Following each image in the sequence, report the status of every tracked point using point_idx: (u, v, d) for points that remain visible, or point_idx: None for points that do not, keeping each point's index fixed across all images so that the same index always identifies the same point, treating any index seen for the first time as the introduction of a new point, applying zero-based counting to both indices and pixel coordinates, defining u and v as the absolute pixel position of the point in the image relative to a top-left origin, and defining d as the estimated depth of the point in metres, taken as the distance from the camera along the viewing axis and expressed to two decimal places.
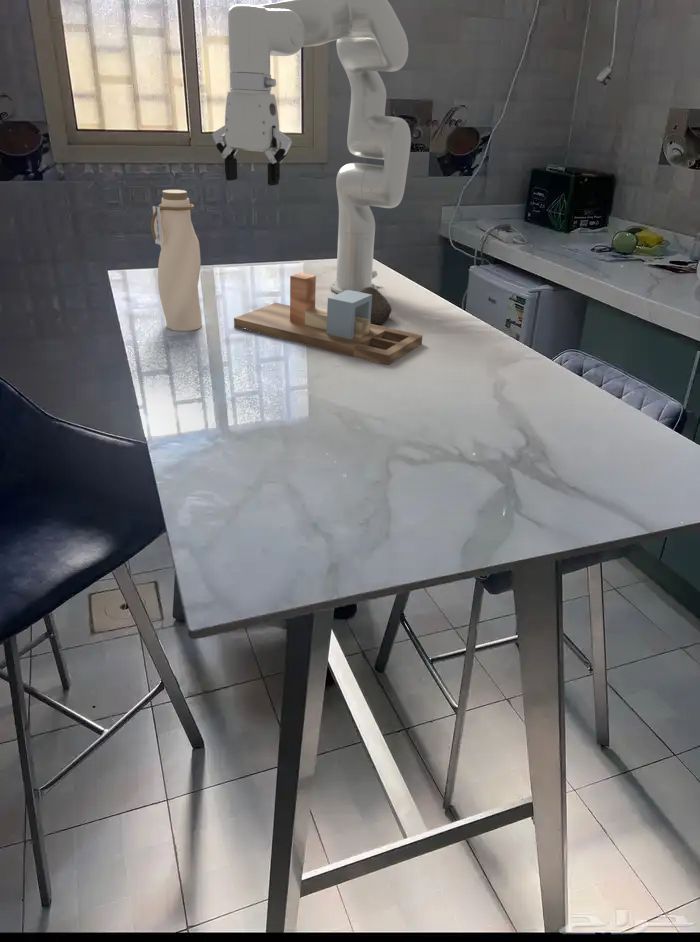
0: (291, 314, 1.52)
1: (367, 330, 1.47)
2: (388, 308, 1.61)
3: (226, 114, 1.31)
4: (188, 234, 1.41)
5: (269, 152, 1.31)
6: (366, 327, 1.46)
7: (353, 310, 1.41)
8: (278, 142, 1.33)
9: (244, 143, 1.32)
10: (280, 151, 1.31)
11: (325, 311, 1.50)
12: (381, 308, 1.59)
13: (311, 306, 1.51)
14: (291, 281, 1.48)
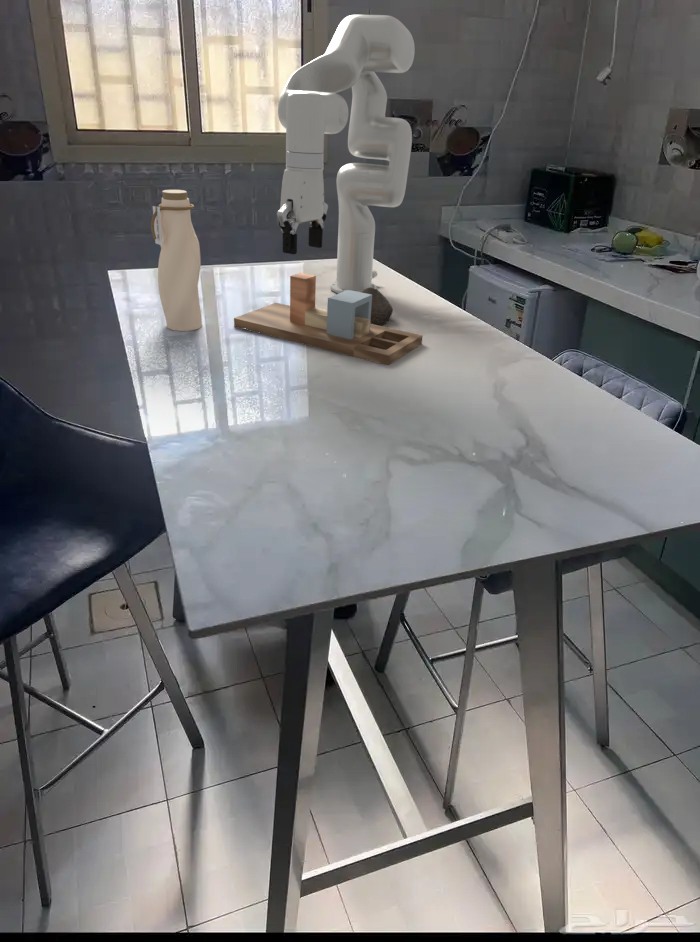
0: (291, 314, 1.52)
1: (367, 330, 1.47)
2: (389, 309, 1.60)
3: (301, 192, 1.36)
4: (188, 234, 1.41)
5: (321, 219, 1.46)
6: (366, 327, 1.46)
7: (353, 310, 1.41)
8: None
9: (311, 216, 1.41)
10: (324, 216, 1.47)
11: (325, 311, 1.50)
12: (382, 308, 1.59)
13: (311, 306, 1.51)
14: (291, 281, 1.48)
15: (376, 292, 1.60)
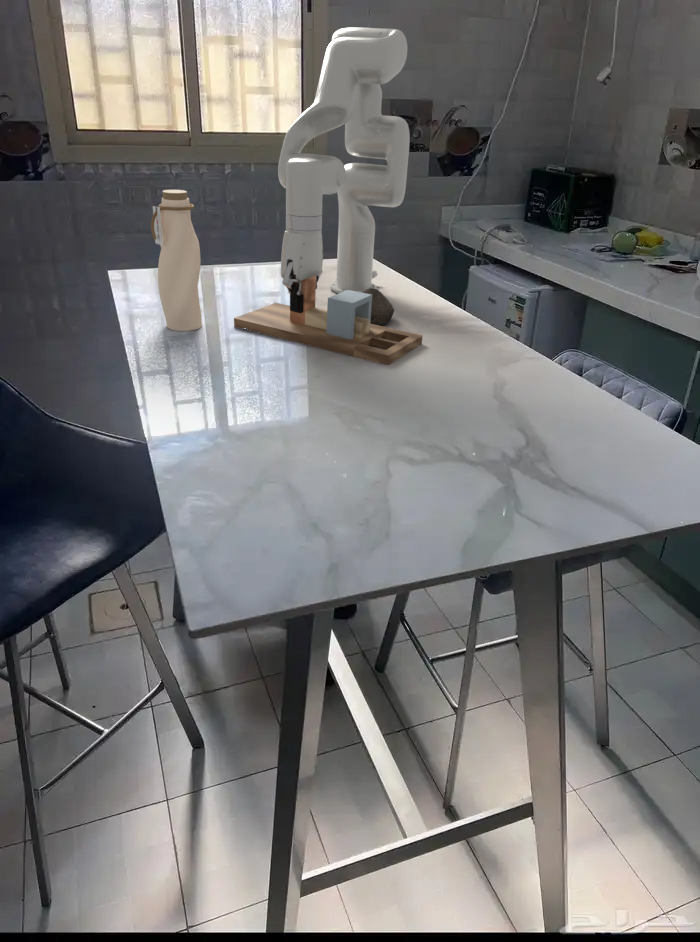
0: (291, 314, 1.52)
1: (367, 330, 1.47)
2: (391, 309, 1.60)
3: (300, 253, 1.42)
4: (188, 234, 1.41)
5: None
6: (366, 327, 1.46)
7: (353, 310, 1.41)
8: None
9: (310, 273, 1.47)
10: (317, 278, 1.52)
11: (325, 311, 1.50)
12: (383, 309, 1.59)
13: (311, 306, 1.51)
14: None
15: (377, 293, 1.60)
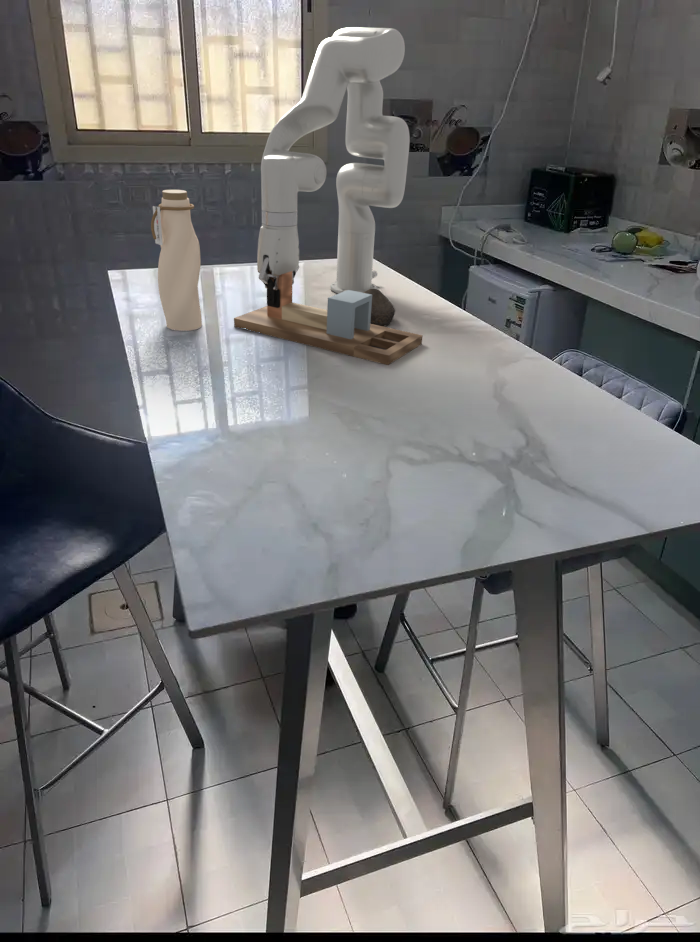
0: (268, 309, 1.54)
1: None
2: (392, 309, 1.60)
3: (276, 249, 1.44)
4: (188, 234, 1.41)
5: (292, 275, 1.53)
6: None
7: (353, 310, 1.41)
8: None
9: (287, 268, 1.49)
10: (294, 273, 1.55)
11: (301, 306, 1.53)
12: (385, 309, 1.58)
13: (288, 301, 1.54)
14: None
15: (378, 293, 1.59)
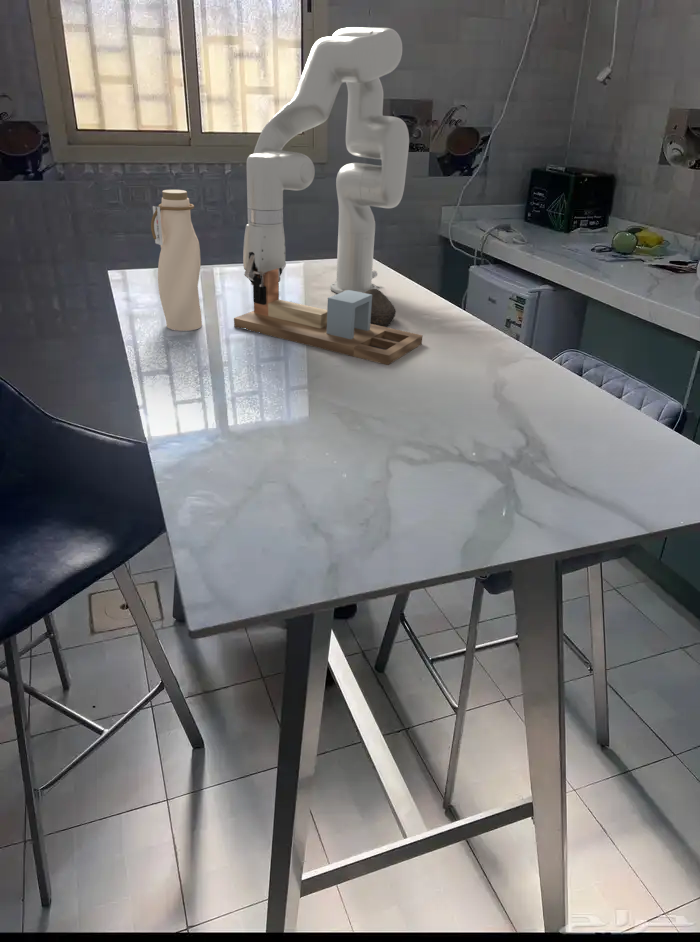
0: (255, 306, 1.56)
1: None
2: (392, 310, 1.60)
3: (261, 246, 1.46)
4: (188, 234, 1.41)
5: (278, 272, 1.55)
6: None
7: (353, 310, 1.41)
8: None
9: (273, 265, 1.51)
10: (280, 270, 1.56)
11: (288, 303, 1.54)
12: (385, 310, 1.58)
13: (274, 298, 1.55)
14: None
15: (379, 293, 1.59)
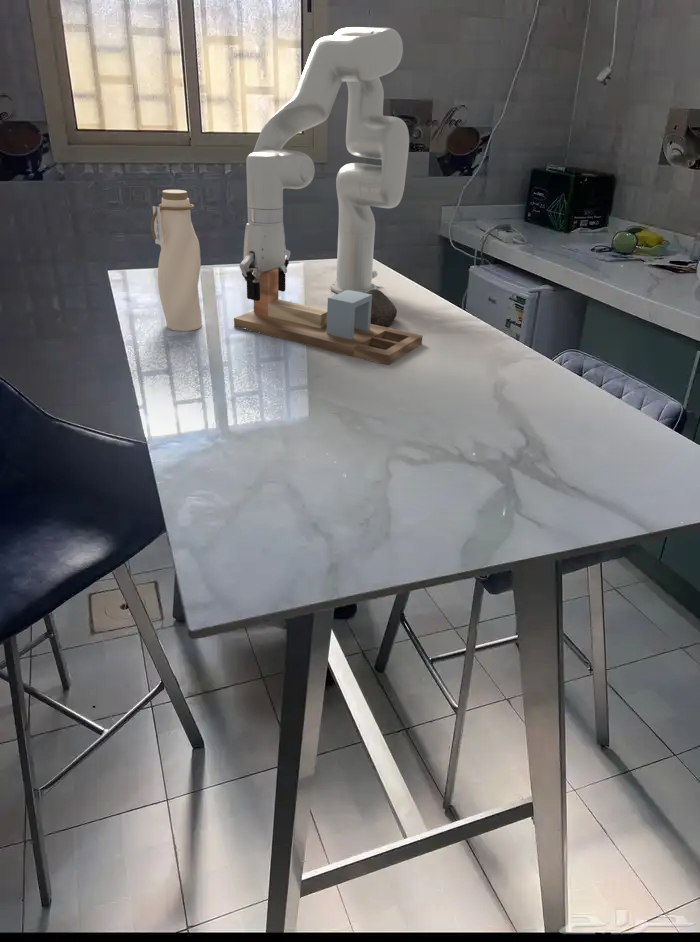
0: (255, 306, 1.56)
1: None
2: (394, 310, 1.59)
3: (261, 245, 1.46)
4: (188, 234, 1.41)
5: (283, 265, 1.56)
6: None
7: (353, 310, 1.41)
8: None
9: (273, 264, 1.51)
10: (287, 262, 1.57)
11: (287, 303, 1.54)
12: (387, 310, 1.58)
13: (274, 298, 1.55)
14: (254, 273, 1.52)
15: (380, 294, 1.59)
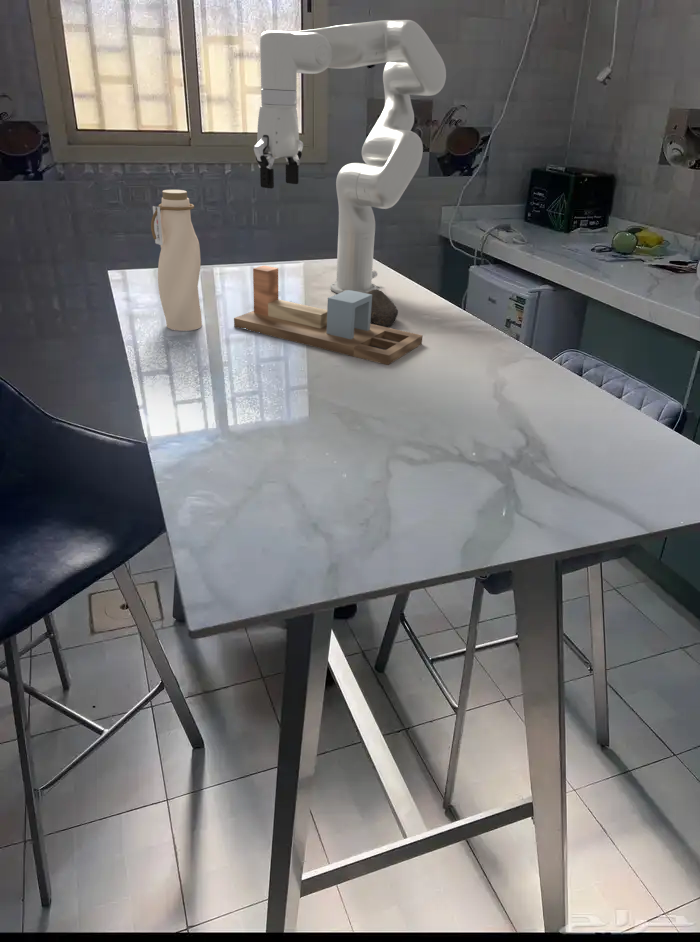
0: (255, 306, 1.56)
1: None
2: (395, 310, 1.59)
3: (275, 128, 1.45)
4: (188, 234, 1.41)
5: (296, 156, 1.55)
6: None
7: (353, 310, 1.41)
8: None
9: (287, 151, 1.50)
10: (300, 153, 1.56)
11: (287, 303, 1.54)
12: (388, 310, 1.58)
13: (274, 298, 1.55)
14: (254, 273, 1.52)
15: (381, 294, 1.59)
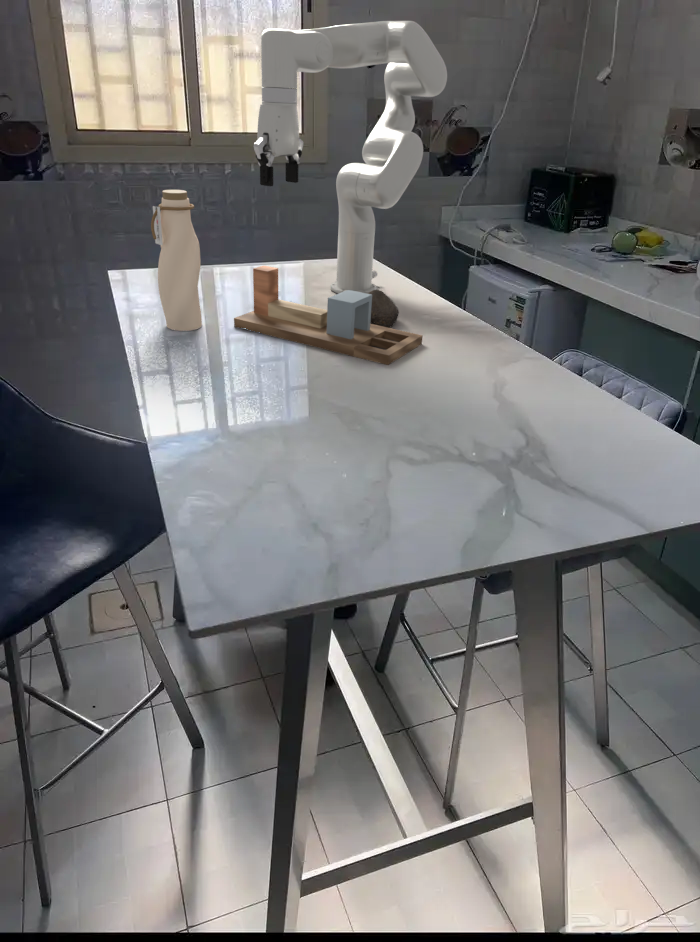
0: (255, 306, 1.56)
1: None
2: (396, 311, 1.59)
3: (276, 126, 1.45)
4: (188, 234, 1.41)
5: (296, 154, 1.55)
6: None
7: (353, 310, 1.41)
8: None
9: (287, 150, 1.50)
10: (300, 152, 1.56)
11: (287, 303, 1.54)
12: (388, 311, 1.58)
13: (274, 298, 1.55)
14: (254, 273, 1.52)
15: (382, 294, 1.59)
